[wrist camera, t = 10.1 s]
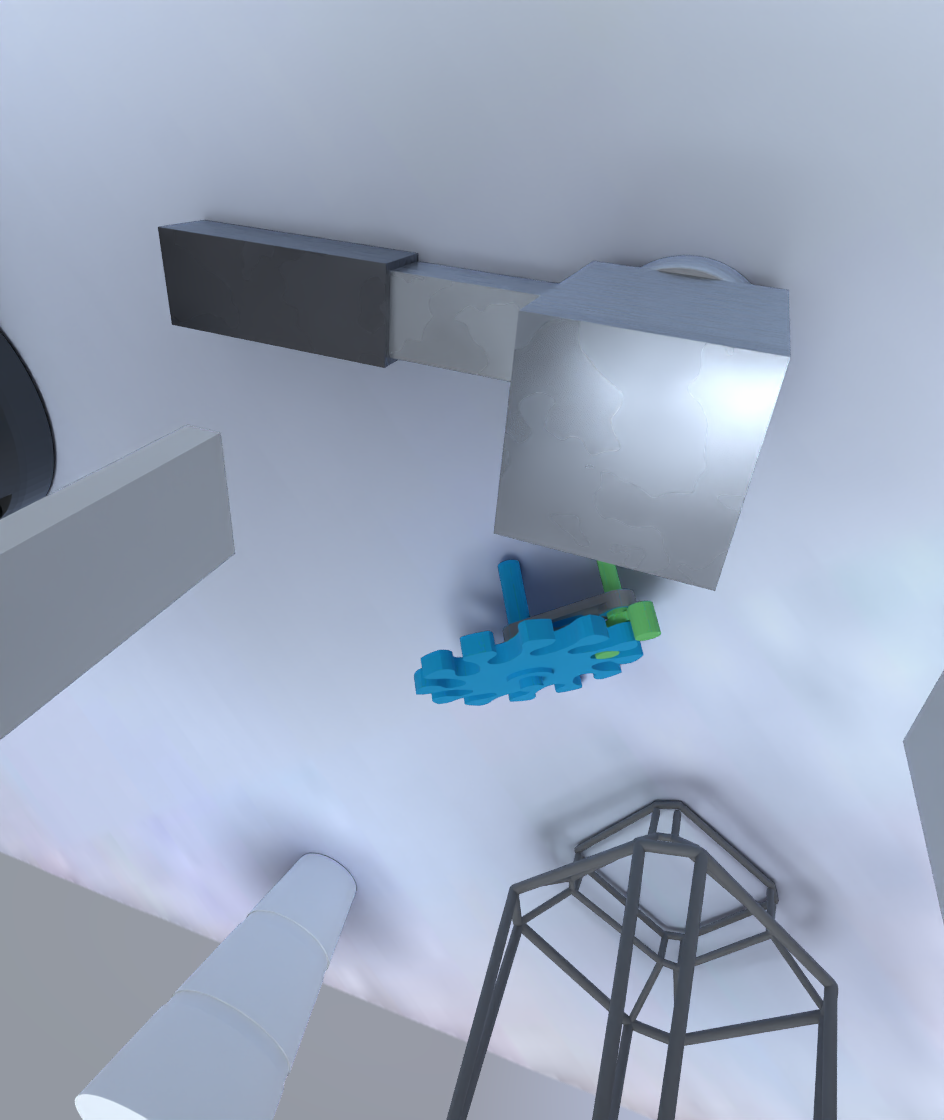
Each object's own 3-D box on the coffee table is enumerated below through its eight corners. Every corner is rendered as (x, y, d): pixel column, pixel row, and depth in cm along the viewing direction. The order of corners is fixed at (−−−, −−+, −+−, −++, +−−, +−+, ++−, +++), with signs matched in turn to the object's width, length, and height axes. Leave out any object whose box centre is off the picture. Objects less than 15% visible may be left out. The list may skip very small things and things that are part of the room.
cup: (353, 825, 48) (170, 1119, 34) (414, 930, 52) (273, 1236, 38) (242, 823, 54) (41, 1078, 39) (305, 919, 57) (144, 1185, 43)
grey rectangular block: (565, 435, 26) (493, 533, 20) (593, 261, 23) (518, 310, 16) (733, 471, 25) (714, 591, 18) (788, 290, 21) (790, 357, 15)
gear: (486, 725, 37) (369, 703, 29) (469, 618, 39) (355, 569, 31) (697, 669, 32) (629, 623, 24) (662, 552, 35) (590, 474, 27)
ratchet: (217, 339, 33) (101, 382, 28) (200, 185, 30) (64, 197, 24) (742, 448, 27) (730, 530, 21) (796, 269, 24) (800, 312, 18)
